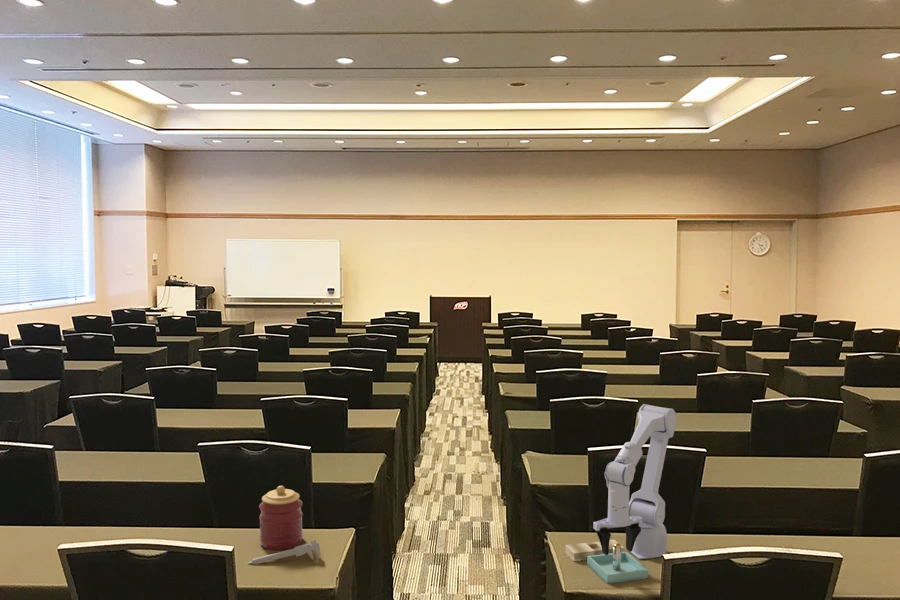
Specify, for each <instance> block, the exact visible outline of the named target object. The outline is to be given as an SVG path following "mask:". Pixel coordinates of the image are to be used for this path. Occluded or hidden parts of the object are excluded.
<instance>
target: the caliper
mask: <svg viewBox="0 0 900 600" xmlns="http://www.w3.org/2000/svg"><path fill="white" fill-rule="evenodd" d="M313 550H315V552H316V555H317V559H318V560H319V559H321V548H320V544H319V542H318V541H317V540H316V538H314V539H313V540H312V539H310V543H305V544H301V545H300V544H299V545H297V546H294V547H293V548H292V549H290V548H289V549H285V550H283V551H279V552H274V553H271V554H267V555H264V556H258V557H255V558H252V560H250V561H248V562H247V565H259V564H262V563H267V562H270V561H273V560H274V561H275V560H278V559H282V558H286V557H291V556H296V557H299V556H304V555H305V554H307V555H308V556H309V557H310V559H311V560H312V561H314V560H315V559H314V558H315V557H314V553H313Z"/></svg>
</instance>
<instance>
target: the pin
mask: <svg viewBox="0 0 900 600" xmlns="http://www.w3.org/2000/svg"><path fill="white" fill-rule="evenodd" d="M621 546H622V545H621V544H620V543H619V542H618V543H615V544H614V545H613V570H615V571H620V570H621Z"/></svg>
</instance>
